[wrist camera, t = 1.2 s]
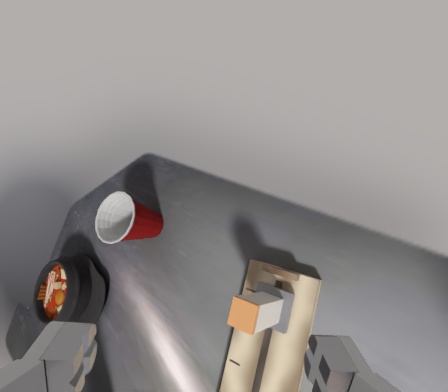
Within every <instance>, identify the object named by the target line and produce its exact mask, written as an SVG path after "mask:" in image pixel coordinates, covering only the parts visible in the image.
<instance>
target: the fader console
mask: <svg viewBox="0 0 448 392" xmlns="http://www.w3.org/2000/svg"><path fill="white" fill-rule="evenodd" d="M258 282H263V283H266V284H269V285H272V286H275V287H278V288H281V289H284V290H286V291H289V292H292V293H295V297H294V302H293V306H292V311H291V316H290V320H289V325H288V330H287V333H285V334H283V333H281V332H278V331H276V330H274V329H272V328H266V329H264V330H262V331H260V332H258V333H256V334H253V335H249V334H247V333H245V332H243V331H241V330H239V329H237V328H235V327H234V331H233V336H232V340H231V344H230V348H229V353H228V357H227V361H226V366H225V370H224V374H223V378H222V383H221V387H220V391H219V392H299V391H300V386H301V381H302V376H303V371H304V356H305V351H306V350H308V346H309V344H308V340H309V337H310V336H311V331H312V326H313V321H314V317H315V312H316V307H317V302H318V297H319V292H320V287H321V282H322V280H320V279H317V278H314V277H311V276H307V275H304V274H301V273H297V272H294V271H291V270H288V269H284V268H281V267H278V266H274V265H271V264H268V263H264V262H261V261H258V260H254V259H250V263H249V267H248V271H247V275H246V280H245V284H244V288H243V293H242V295H244V294H251V293H255V292H256V288H257V283H258Z"/></svg>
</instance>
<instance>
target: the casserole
mask: <svg viewBox="0 0 448 392" xmlns="http://www.w3.org/2000/svg"><path fill="white" fill-rule="evenodd" d="M105 294H106V284H105V280H104V278H103V277H102V275H101V274H100V273H99V272H98V271H97V269H96V267H95V265H94V263H93V262H92V260H91V259H90V258H89V257H88V256H86V255H83V254H78V255H75V256H73V257H71V258H69V257H60V258H58V259H56V260H54V261H51V262H49V263H48V264H47V265H46V266H45V267H44V268H43V270H42V271H41V273H40V275H39V277H38V280H37V283H36V286H35V291H34V310H35V314H36V317H37V319H38V321H39V322H40V323H41V324H43V325H48V324H49V323H50V322H52V321H59V322H77V323H90V324H95V323H96V322H97V320H98V319H99V316H100V314H101V312H102V309H103V306H104V301H105Z"/></svg>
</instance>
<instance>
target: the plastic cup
mask: <svg viewBox="0 0 448 392" xmlns="http://www.w3.org/2000/svg"><path fill="white" fill-rule="evenodd" d="M162 228H163V219H162V217H161V216H160V215H159V214H158V213H156V212H154V211H152V210H150V209H149V208H147V207H145V206H143V205H141V204H139V203H137V202H135V201H134V200H133V199H132V198H131V197H130V196H129V195H128V194H126V193H125V192H119V191H117V192H115V193H112V194H110V195H109V196H108V197H107V198H106V199H105V200H104V201H103V202H102V204H101V206H100V207H99V209H98V212H97V216H96V219H95V229H96V232H97V235H98V237H99V238H100V239H101V240H102V241H103V242H104V243H109V244H113V243H116V242H119V241H124V240H134V239H144V238H152V237H155V236H157V235H159V234H160V232H161V230H162Z"/></svg>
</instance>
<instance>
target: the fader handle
mask: <svg viewBox="0 0 448 392" xmlns="http://www.w3.org/2000/svg"><path fill="white" fill-rule="evenodd" d="M294 297H295V293H292V292H289V291H286V290H284V289H281V288H278V287H275V286H272V285H269V284H266V283H263V282H258V283H257V288H256V292H255V293H251V294H244V295H238V296H234V297H233V301H232V305H231V310H230V314H229V318H228V322H227V324H228V325H230V326H233V327H235V328H237V329H239V330H241V331H243V332H245V333H247V334H249V335H253V334H256V333H258V332H260V331H262V330H264V329H266V328H272V329H274V330H276V331H278V332H281V333H283V334H285V333H287V330H288V325H289V320H290V316H291V311H292V306H293V302H294Z"/></svg>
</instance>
